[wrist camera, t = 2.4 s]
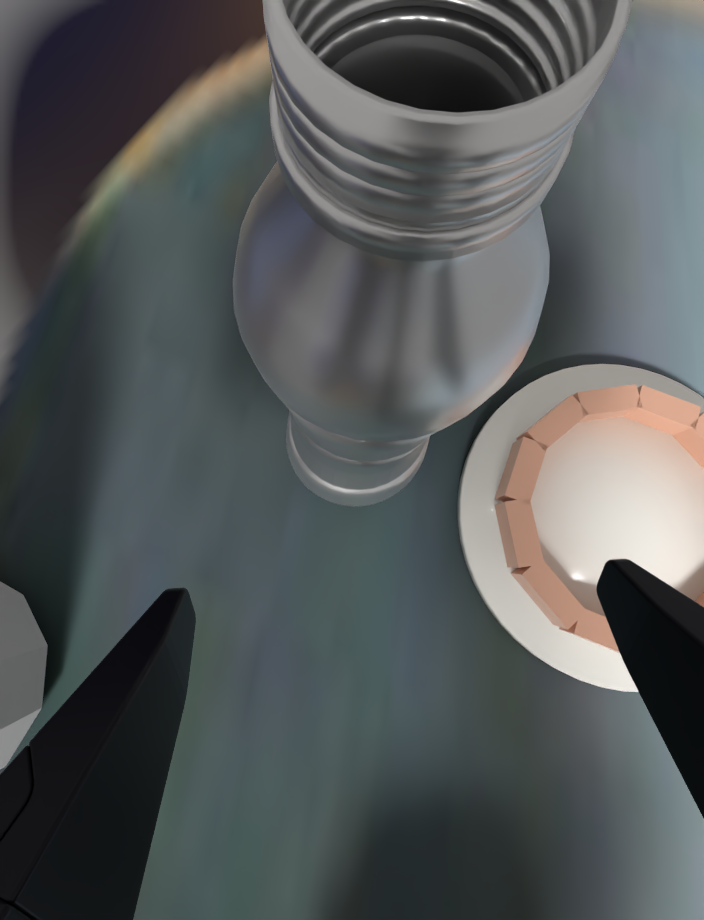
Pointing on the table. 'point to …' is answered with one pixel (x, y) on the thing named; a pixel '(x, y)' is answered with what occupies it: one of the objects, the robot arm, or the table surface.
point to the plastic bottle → (406, 216)
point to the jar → (19, 670)
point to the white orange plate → (583, 507)
